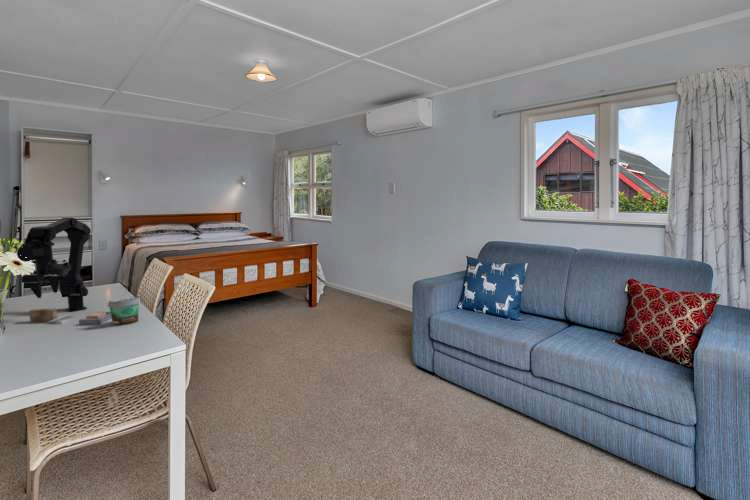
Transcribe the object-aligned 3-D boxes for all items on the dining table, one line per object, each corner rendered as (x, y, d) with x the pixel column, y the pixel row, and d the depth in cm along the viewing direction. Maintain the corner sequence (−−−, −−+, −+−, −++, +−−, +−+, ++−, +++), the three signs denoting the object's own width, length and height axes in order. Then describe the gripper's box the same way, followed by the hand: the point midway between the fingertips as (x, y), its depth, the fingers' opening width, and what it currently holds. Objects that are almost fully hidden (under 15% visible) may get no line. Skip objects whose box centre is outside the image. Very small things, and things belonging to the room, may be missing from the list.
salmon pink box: (86, 322, 171) (86, 315, 171) (94, 319, 176) (94, 312, 176) (98, 322, 171) (98, 315, 171) (106, 319, 176) (106, 312, 176)
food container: (117, 328, 164) (115, 303, 162) (109, 325, 167) (107, 301, 166) (148, 320, 174) (146, 297, 173) (139, 318, 177) (138, 295, 176)
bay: (79, 324, 168) (78, 320, 167) (96, 316, 179) (96, 311, 179) (99, 324, 168) (99, 319, 168) (116, 316, 180) (115, 311, 180)
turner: (25, 324, 168) (24, 312, 167) (39, 318, 176) (38, 307, 175) (61, 323, 169) (60, 311, 168) (74, 318, 177) (73, 306, 176)
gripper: (48, 261, 161) (52, 300, 163) (79, 254, 179) (82, 290, 181) (18, 261, 160) (22, 301, 162) (52, 254, 178) (55, 290, 180)
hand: (47, 295), depth 171 cm, fingers open, 9 cm apart
